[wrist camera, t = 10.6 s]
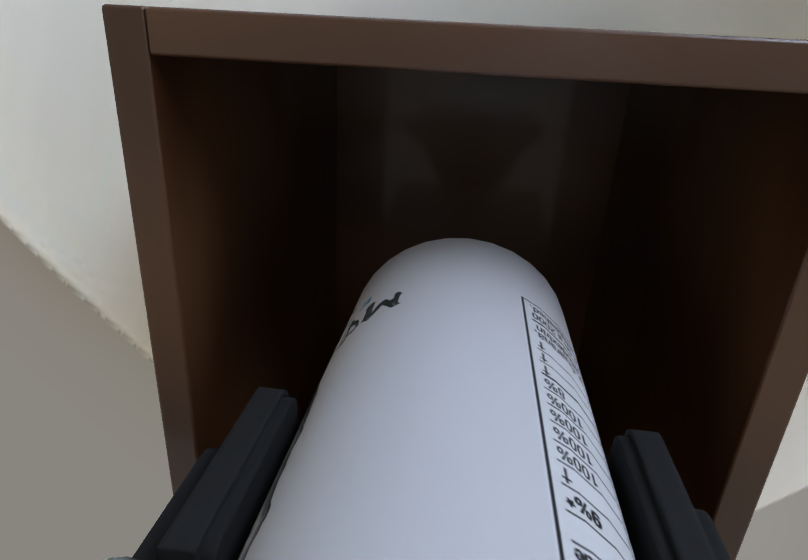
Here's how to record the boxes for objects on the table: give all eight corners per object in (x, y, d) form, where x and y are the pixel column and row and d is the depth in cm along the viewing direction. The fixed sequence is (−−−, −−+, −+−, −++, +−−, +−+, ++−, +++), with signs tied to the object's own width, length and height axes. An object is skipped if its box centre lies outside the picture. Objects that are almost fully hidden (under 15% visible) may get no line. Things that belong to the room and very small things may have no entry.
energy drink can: (364, 215, 16) (-254, 1164, 3) (579, 238, 16) (1218, 1567, 2) (356, 392, 19) (15, 1364, 5) (542, 417, 18) (728, 1579, 4)
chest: (322, 22, 27) (99, 4, 11) (655, 39, 26) (936, 46, 10) (325, 347, 34) (190, 617, 18) (586, 375, 33) (683, 694, 17)
